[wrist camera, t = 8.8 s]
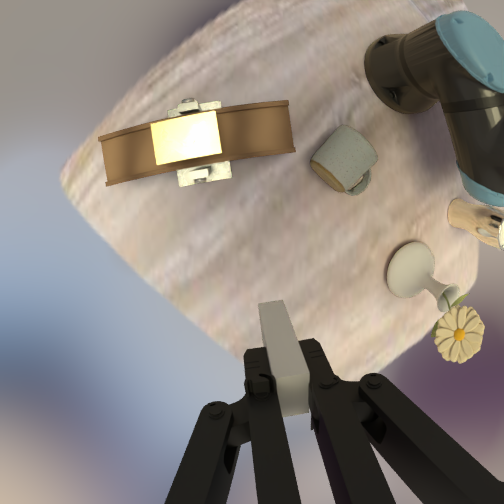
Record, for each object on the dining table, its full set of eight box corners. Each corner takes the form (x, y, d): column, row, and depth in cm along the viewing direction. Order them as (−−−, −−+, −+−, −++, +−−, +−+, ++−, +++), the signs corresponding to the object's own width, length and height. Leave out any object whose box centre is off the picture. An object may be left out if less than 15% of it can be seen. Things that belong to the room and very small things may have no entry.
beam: (284, 103, 34) (288, 100, 32) (291, 152, 36) (295, 152, 34) (105, 137, 33) (98, 137, 31) (113, 184, 36) (106, 186, 33)
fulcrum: (272, 95, 40) (284, 80, 31) (283, 170, 44) (297, 173, 35) (120, 123, 39) (96, 117, 30) (132, 196, 43) (111, 206, 34)
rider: (217, 117, 33) (215, 110, 28) (222, 153, 34) (221, 152, 29) (161, 128, 32) (150, 124, 28) (166, 163, 34) (156, 165, 29)
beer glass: (456, 235, 50) (505, 259, 36) (440, 216, 49) (493, 238, 34) (471, 209, 49) (521, 227, 35) (456, 189, 47) (509, 204, 33)
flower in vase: (412, 227, 49) (510, 278, 25) (436, 264, 52) (520, 321, 28) (366, 277, 51) (445, 357, 27) (394, 309, 54) (465, 386, 31)
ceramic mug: (301, 161, 44) (316, 163, 37) (333, 125, 42) (353, 121, 35) (346, 205, 47) (366, 215, 40) (375, 170, 45) (400, 175, 38)
